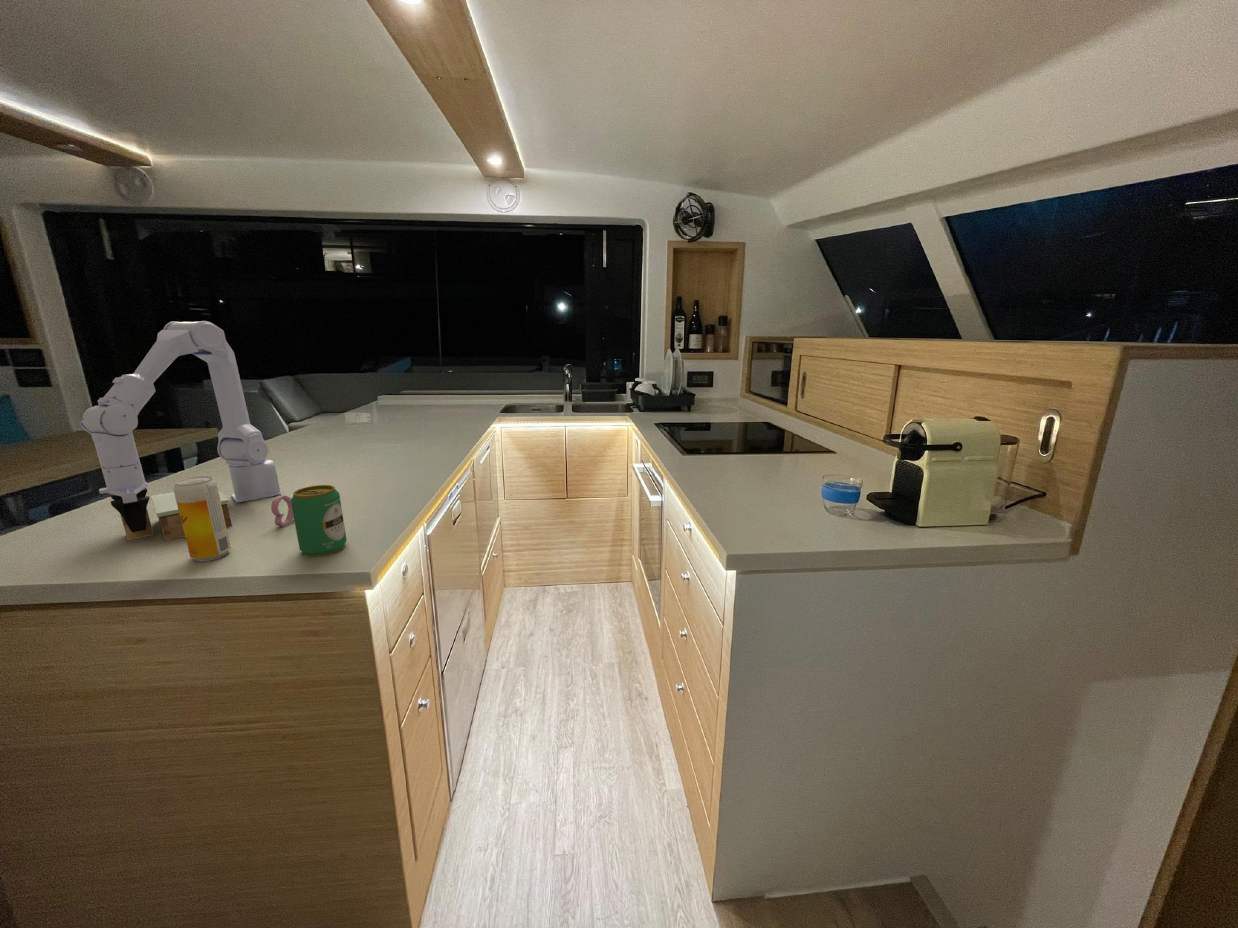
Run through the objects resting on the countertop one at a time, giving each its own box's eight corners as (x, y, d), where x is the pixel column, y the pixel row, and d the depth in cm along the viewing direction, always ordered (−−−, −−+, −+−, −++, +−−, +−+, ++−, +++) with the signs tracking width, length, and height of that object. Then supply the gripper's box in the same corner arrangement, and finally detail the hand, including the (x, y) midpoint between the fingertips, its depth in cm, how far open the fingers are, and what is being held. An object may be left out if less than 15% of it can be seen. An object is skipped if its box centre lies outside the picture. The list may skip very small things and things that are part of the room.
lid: (217, 487, 119) (213, 472, 118) (228, 503, 108) (225, 486, 107) (151, 499, 111) (147, 483, 110) (157, 517, 101) (152, 499, 100)
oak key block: (152, 529, 108) (144, 498, 106) (153, 534, 105) (145, 503, 103) (126, 534, 105) (118, 503, 103) (127, 540, 102) (118, 507, 101)
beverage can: (327, 559, 93) (317, 498, 90) (290, 556, 95) (278, 495, 91) (356, 541, 101) (347, 485, 98) (321, 539, 102) (311, 483, 99)
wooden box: (220, 508, 120) (215, 489, 119) (232, 525, 110) (227, 505, 108) (159, 520, 113) (153, 500, 112) (165, 540, 102) (159, 518, 101)
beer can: (206, 549, 98) (188, 476, 94) (239, 548, 98) (222, 475, 94) (182, 563, 92) (162, 485, 88) (217, 562, 92) (199, 484, 88)
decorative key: (334, 511, 127) (277, 528, 107) (329, 511, 127) (272, 528, 107) (333, 484, 126) (275, 497, 106) (328, 484, 126) (270, 497, 106)
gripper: (93, 462, 103) (110, 523, 107) (92, 475, 93) (112, 542, 97) (139, 456, 108) (155, 514, 112) (143, 468, 98) (160, 532, 102)
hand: (138, 527), depth 105 cm, fingers open, 5 cm apart
